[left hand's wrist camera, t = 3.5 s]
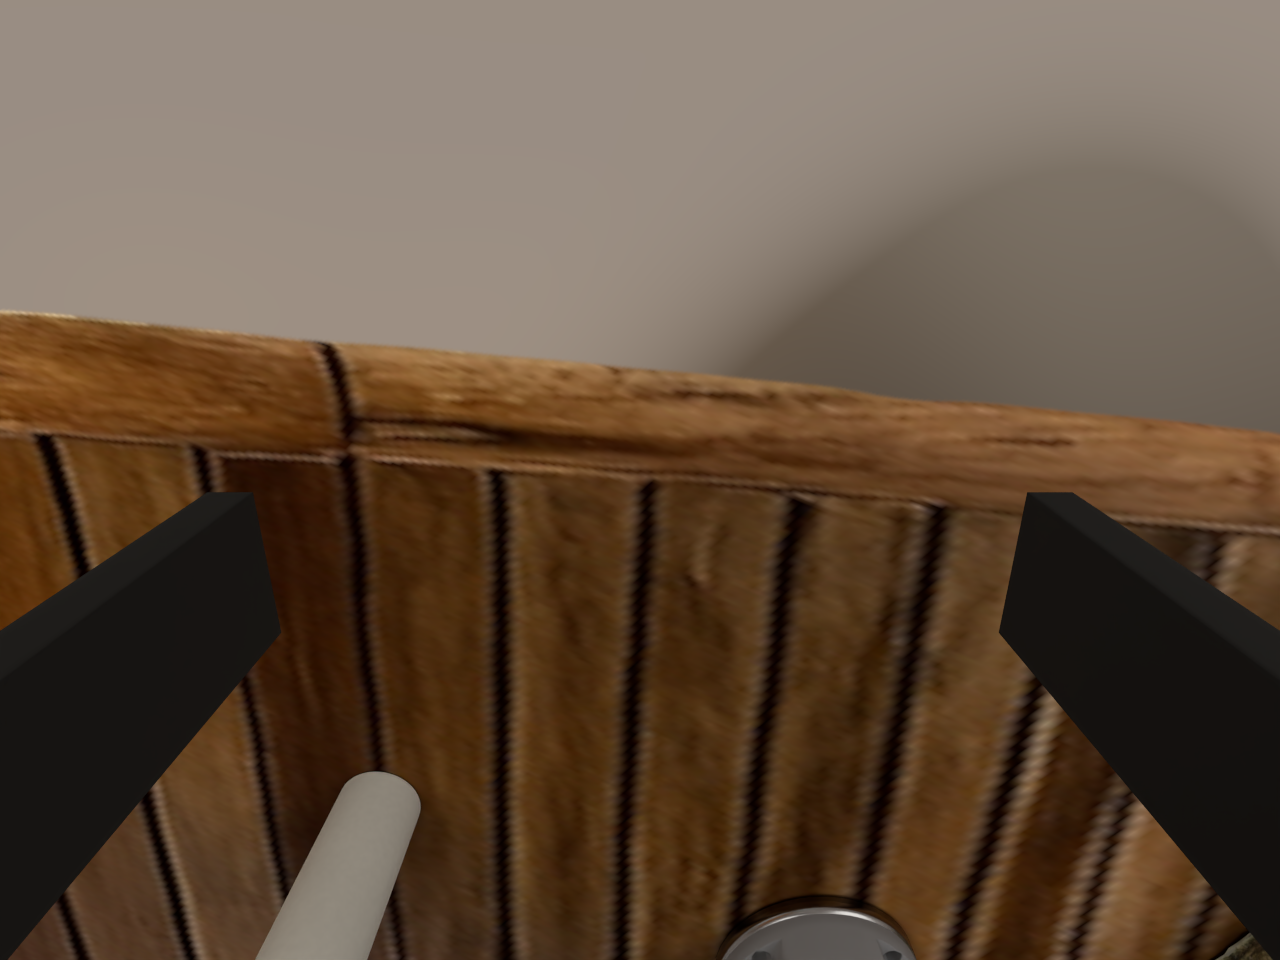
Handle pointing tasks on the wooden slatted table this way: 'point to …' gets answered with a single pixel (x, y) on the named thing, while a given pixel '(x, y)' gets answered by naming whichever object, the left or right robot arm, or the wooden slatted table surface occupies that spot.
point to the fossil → (1246, 950)
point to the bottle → (347, 873)
